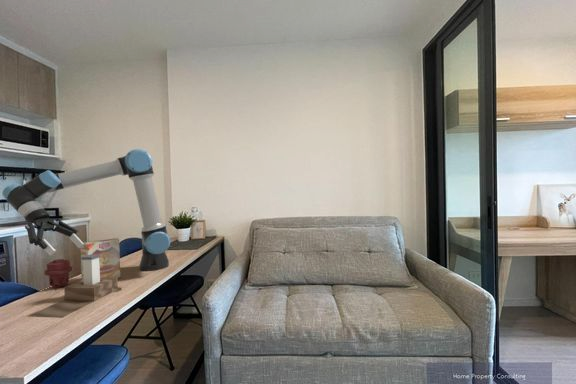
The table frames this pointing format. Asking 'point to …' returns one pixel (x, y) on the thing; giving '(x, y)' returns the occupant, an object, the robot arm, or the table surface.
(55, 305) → the wooden socket base
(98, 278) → the post
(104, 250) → the coffeecake box
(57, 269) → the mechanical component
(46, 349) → the table surface
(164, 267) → the robot arm
